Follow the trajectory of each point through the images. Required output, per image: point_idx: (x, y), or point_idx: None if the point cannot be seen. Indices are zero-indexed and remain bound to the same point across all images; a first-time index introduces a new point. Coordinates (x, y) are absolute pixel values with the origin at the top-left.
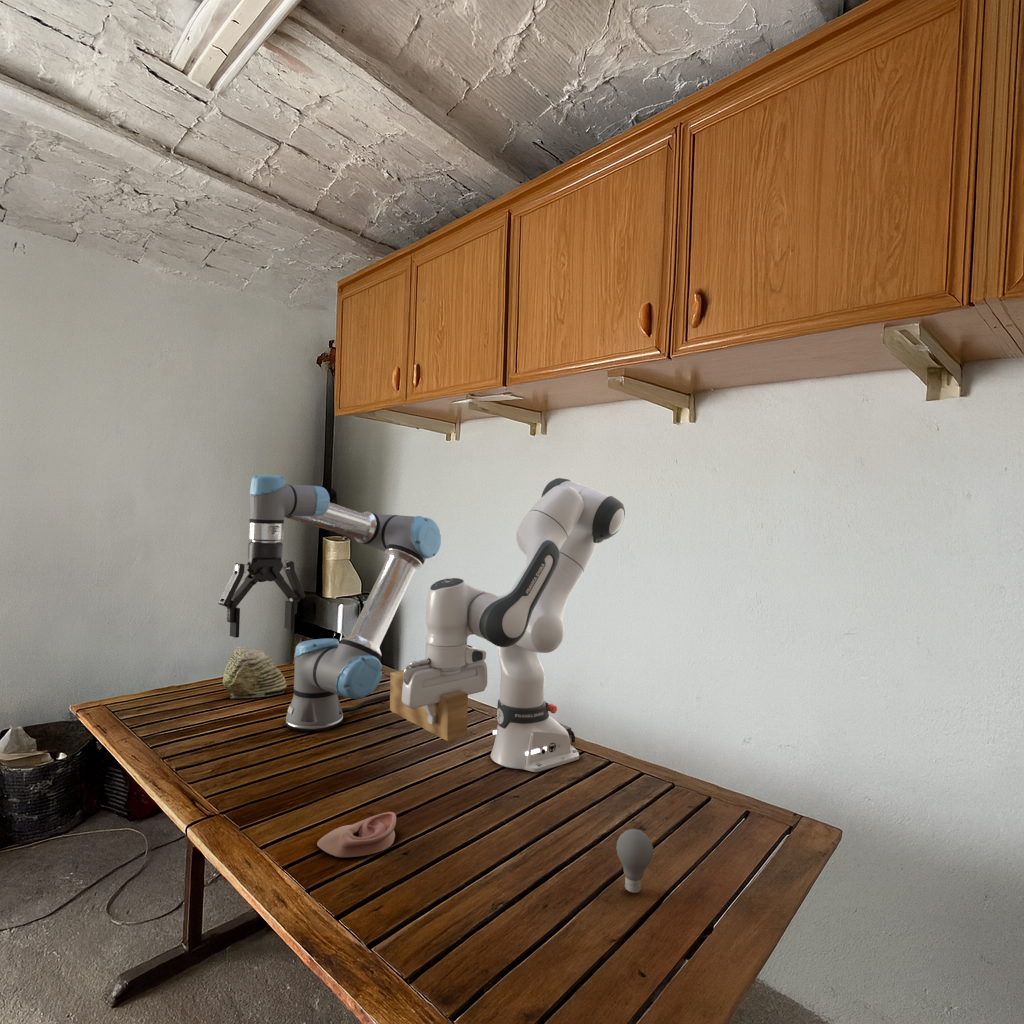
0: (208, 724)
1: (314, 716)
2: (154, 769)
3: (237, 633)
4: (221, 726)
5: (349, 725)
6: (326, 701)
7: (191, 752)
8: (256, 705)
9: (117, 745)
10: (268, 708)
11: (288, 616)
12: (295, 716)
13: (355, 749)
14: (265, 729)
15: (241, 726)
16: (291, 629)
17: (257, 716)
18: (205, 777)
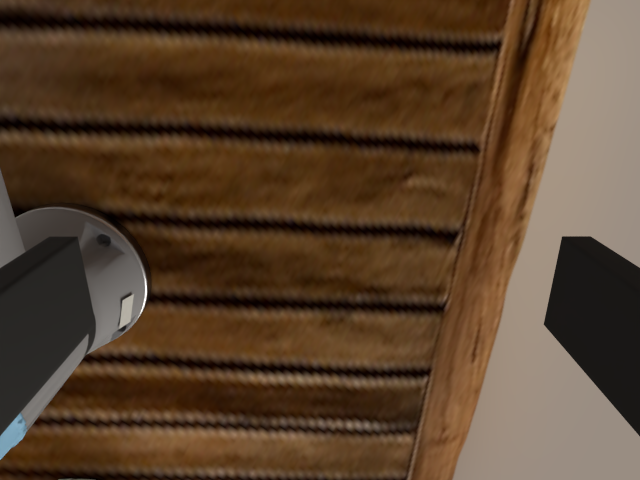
0: (283, 413)
1: (86, 238)
2: (484, 267)
3: (597, 248)
4: (267, 387)
5: None
6: (25, 248)
7: (386, 299)
8: (146, 449)
9: (465, 420)
10: (131, 418)
11: (17, 335)
12: (128, 277)
13: (67, 29)
14: (198, 312)
15: (233, 361)
16: (68, 237)
17: (175, 391)
18: (438, 152)
